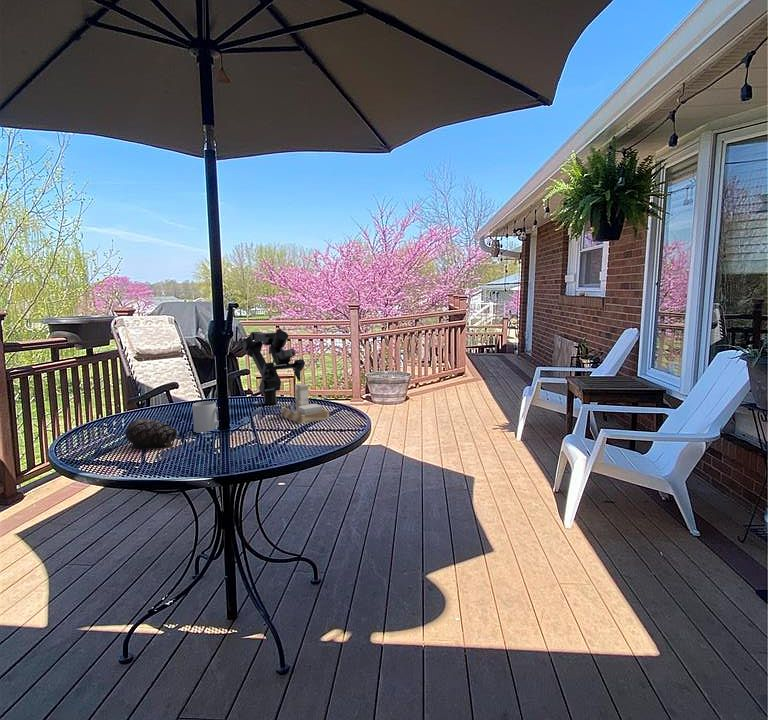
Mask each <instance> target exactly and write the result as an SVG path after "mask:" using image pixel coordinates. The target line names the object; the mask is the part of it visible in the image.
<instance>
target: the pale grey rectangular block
mask: <svg viewBox="0 0 768 720" xmlns="http://www.w3.org/2000/svg"><path fill="white" fill-rule="evenodd" d="M294 391H295V393H294V394H295V396H294V397H295V411H296V412H298V407H299V406H305V405H309V404H310V403H309V402H310V401H309V400H310V399H309V385H308V384H305V383H298V384H297V383H296V384H294Z"/></svg>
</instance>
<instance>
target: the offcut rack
mask: <svg viewBox="0 0 768 720" xmlns="http://www.w3.org/2000/svg"><path fill="white" fill-rule="evenodd" d="M310 404H311V403H309V405H310ZM280 410H281V413H280V414H279V415H280V416H281V417H284V418H287V419H289V420H291V421H293V422H296V423H298V424H300V425H302V424H306V423H312V422H318V421H322V420H328V419H331V418H332V417H331V416H330V410H328V409H325V408H322V412H317V413H312V414H306V415H303V414H300V413H298V412H296V410H292V409H290V408H289V407H288V408H287V407H285V406H281V409H280Z"/></svg>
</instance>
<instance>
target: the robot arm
mask: <svg viewBox="0 0 768 720" xmlns="http://www.w3.org/2000/svg"><path fill="white" fill-rule="evenodd" d="M288 339H289V334H288V333H287V332H286V331H285V330H282V329H281V328H280V329H279V328H277V329H276V332H262V331H251V332H250V333H249V336H247V337H246V338H245V339H244V342H243V343H242V344H243V345H242V349H243V351H244V353H245V354H246V355H247V356H249V357H250V358H252V361H253V362H254V364H255V366H256V368H257V370H258V372H259V374H260V376H261V380H260V384H259V386H258V390H259V393H262V394H263V401H264V402H263V403H265V404H276V405H278V403H279V400H277V391H278V392H279V391H281V383H282V380H281V378H280V376H279V374H278V372H277V370H278V371H279V370H289V369H292V371H293V374H294V376H295V377H296V379H297V381H298V382H300V381H301V380H302V379H301V371H303V369H304V368H305V367H304V366H305V365H306V362H305V360H304V359H303V358H299V359H295V360H294V362H293V363H290V362H291V361H292V360H291V358H292V357H295V356H296V350H295V349H294V348H289V349H283V348H285V347H286V343H288ZM263 345H264V346H269V348H268V349H269V350H268V354H269V355H271V357H272V359H273V360H272V362H267V361H266V359H265V358H264V356H263V354H262V349H263V348H262V347H263ZM277 402H278V403H277Z"/></svg>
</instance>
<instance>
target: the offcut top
mask: <svg viewBox="0 0 768 720" xmlns="http://www.w3.org/2000/svg"><path fill="white" fill-rule="evenodd" d="M309 404H310V405H305V406H299V407H298V413H300V414H303V415H306V414H312V413H317V412H322V409H323V405H320V404H317V403H309Z"/></svg>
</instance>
